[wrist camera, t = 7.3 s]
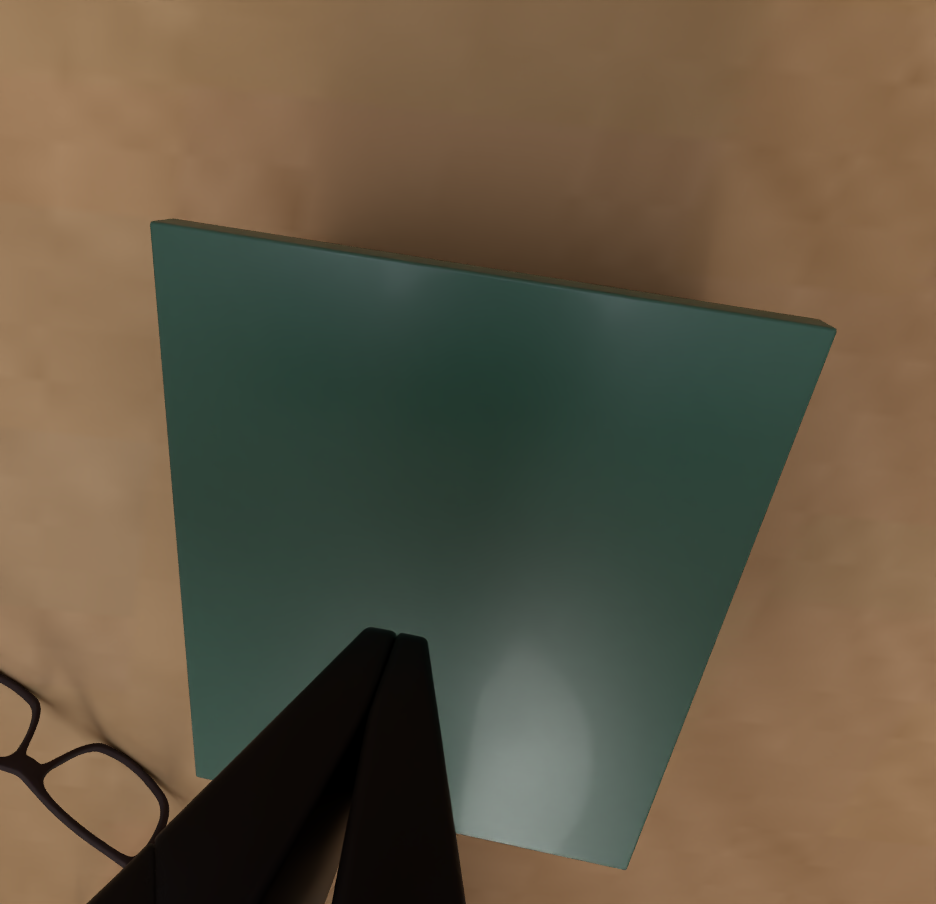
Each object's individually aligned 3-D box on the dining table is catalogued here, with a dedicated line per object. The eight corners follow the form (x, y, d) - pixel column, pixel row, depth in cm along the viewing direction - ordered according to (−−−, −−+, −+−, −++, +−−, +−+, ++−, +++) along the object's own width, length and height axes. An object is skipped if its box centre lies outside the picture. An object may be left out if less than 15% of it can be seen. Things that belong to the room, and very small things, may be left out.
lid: (172, 218, 12) (148, 220, 11) (821, 319, 11) (839, 328, 11) (209, 754, 19) (195, 777, 18) (624, 843, 18) (626, 871, 17)
